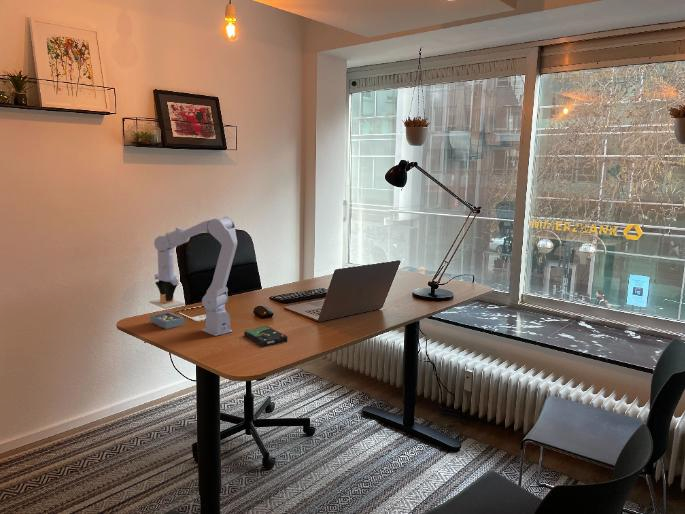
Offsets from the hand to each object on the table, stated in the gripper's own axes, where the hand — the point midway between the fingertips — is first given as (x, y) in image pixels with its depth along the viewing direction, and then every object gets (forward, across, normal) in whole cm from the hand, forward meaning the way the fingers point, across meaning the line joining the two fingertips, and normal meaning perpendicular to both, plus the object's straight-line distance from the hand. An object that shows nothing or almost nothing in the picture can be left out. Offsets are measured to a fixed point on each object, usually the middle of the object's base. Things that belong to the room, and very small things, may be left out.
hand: (167, 299), depth 210 cm
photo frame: (+11, +5, -18) cm, 22 cm away
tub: (+10, +1, 0) cm, 10 cm away
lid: (+2, 0, 0) cm, 2 cm away
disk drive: (+11, -39, -18) cm, 44 cm away
